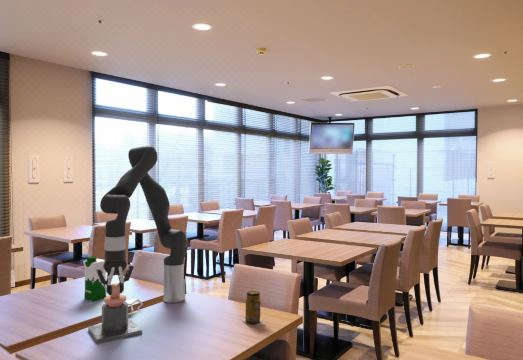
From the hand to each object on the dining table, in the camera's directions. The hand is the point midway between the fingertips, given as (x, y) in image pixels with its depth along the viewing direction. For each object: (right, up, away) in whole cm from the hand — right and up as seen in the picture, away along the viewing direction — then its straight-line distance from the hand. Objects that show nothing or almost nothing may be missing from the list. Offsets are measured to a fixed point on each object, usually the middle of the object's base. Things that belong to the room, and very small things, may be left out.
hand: (115, 293), depth 159 cm
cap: (0, -5, 0) cm, 5 cm away
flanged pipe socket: (0, -15, 0) cm, 15 cm away
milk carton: (-24, -14, +41) cm, 49 cm away
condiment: (+52, -15, +13) cm, 56 cm away
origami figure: (-1, -15, +22) cm, 27 cm away
